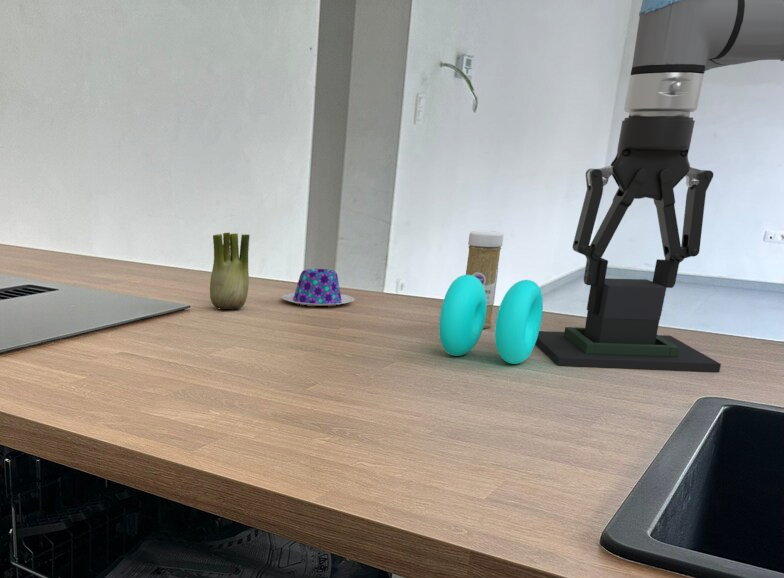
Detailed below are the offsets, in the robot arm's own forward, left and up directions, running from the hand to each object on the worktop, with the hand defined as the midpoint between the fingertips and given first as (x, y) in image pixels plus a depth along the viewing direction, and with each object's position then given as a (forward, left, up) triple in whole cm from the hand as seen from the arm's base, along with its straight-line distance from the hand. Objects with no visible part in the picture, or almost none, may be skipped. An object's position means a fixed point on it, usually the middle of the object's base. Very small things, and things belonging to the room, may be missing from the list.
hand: (623, 312), depth 107 cm
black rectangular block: (0, 0, -4) cm, 4 cm away
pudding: (+38, -31, -5) cm, 49 cm away
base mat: (0, 0, -5) cm, 5 cm away
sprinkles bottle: (+15, -15, -5) cm, 22 cm away
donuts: (+17, +6, -5) cm, 19 cm away
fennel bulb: (+52, -22, -5) cm, 57 cm away
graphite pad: (0, 0, 0) cm, 0 cm away
